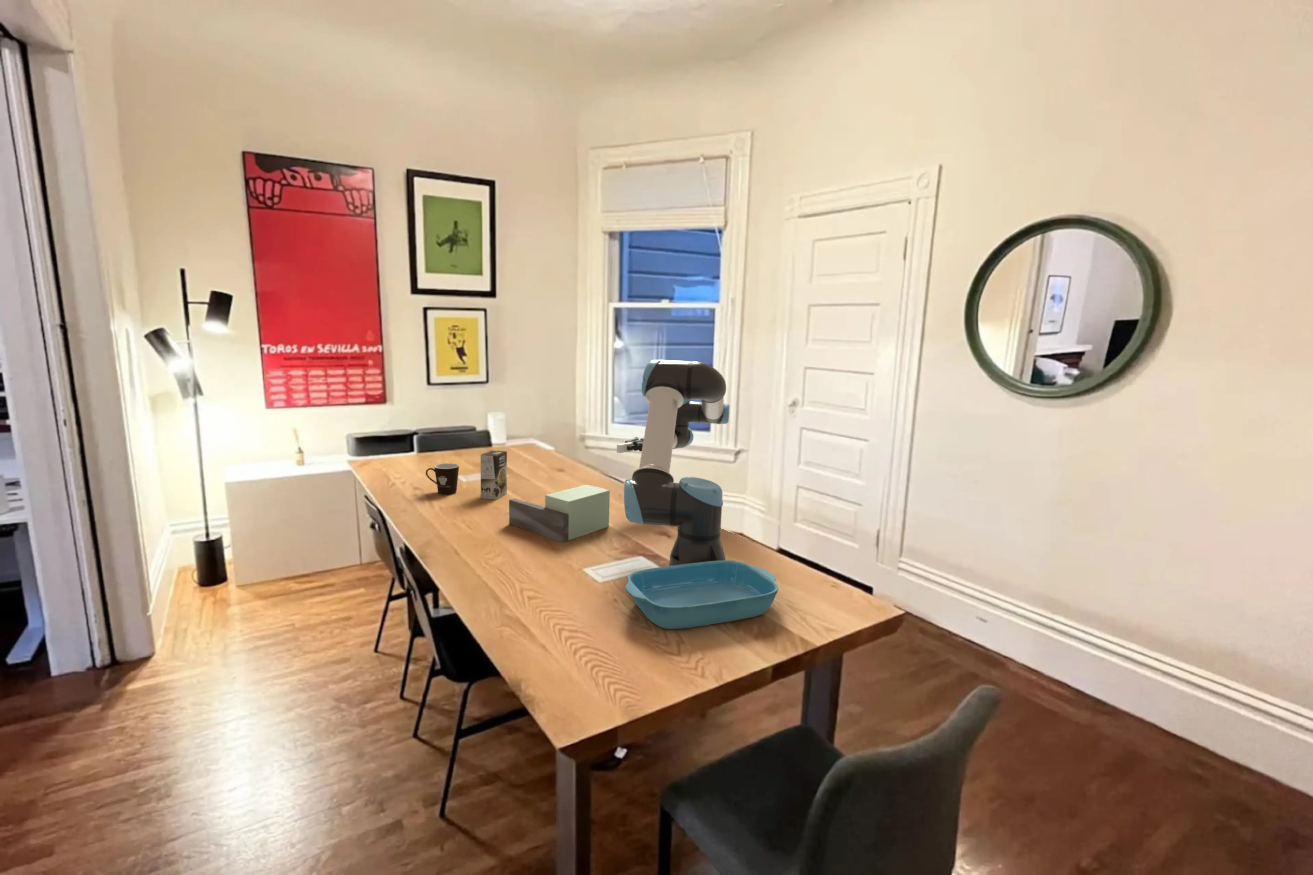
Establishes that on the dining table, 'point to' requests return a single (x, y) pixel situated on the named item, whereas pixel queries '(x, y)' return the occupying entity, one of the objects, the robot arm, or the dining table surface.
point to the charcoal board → (539, 519)
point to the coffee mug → (445, 478)
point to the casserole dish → (702, 593)
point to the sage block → (582, 508)
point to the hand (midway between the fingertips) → (618, 448)
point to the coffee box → (493, 474)
